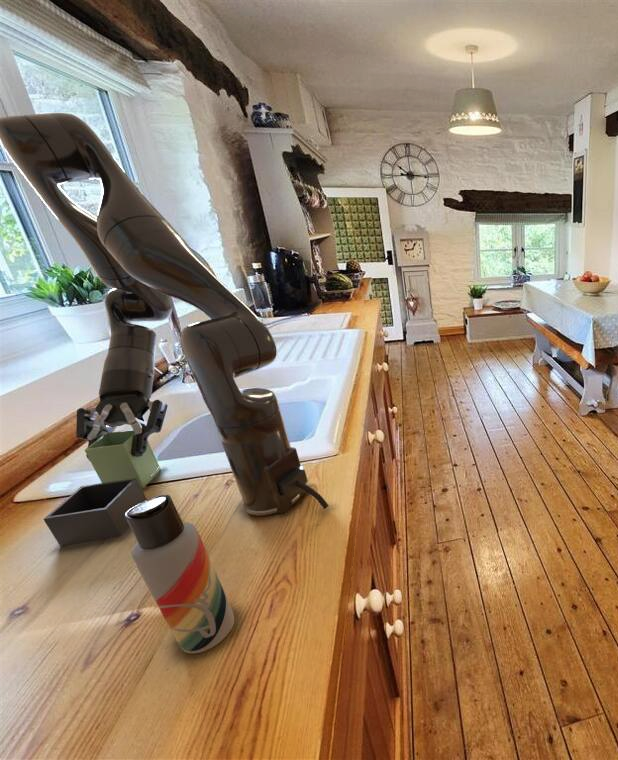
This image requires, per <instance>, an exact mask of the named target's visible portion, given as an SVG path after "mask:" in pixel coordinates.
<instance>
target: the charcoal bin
mask: <svg viewBox="0 0 618 760" xmlns="http://www.w3.org/2000/svg"><path fill="white" fill-rule="evenodd" d="M146 500H148V499H147V497H146V494H145V492H144V490H143V488H141V486H140V484H139V482H138V479H137V478H133V479H127V480H120V481H113V482H106V483H102V482H101V483H100V482H99V483H94V484H86V485H81V486H79V487H78V488H77V489H76V490H75V491H73V492H72V493H71V494H70V495H69V496H68V497H67V498H66V499H65V500H63V501H62V502H61V503H60V504H59V505H57V507H55V508H54V509H53V510H52V511H51V512H50V513H49V514H48V515H46V516H45V517H44V518H43V521H44V523H45V525H46V527H48V530H50V532H51V534H52V536H53V537H54V539H55V541H56V542H57V544H58V545H59V547H68V546H74V545H79V544H84V543H85V544H86V543H91V542H96V541H97V542H98V541H103V540H107V539H108V540H109V539H113V538H114V539H115V538H120V537H122V536H123V535H124V533H125V532H126V531H127V530H128V529H129V528H130V525H129V523H128V521H127V519H126V517H125V513H126V512H127V511H128V510H129V509H131V508H133V507H134V506H136V505H138V504H140V503H142V502H144V501H146Z"/></svg>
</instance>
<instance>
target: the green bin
mask: <svg viewBox="0 0 618 760" xmlns="http://www.w3.org/2000/svg"><path fill="white" fill-rule="evenodd" d="M133 435H136V434H135V432H134V430H133V429H127V430H120V431H113V432H111V433H108V434H104V435H103V436H102V437H100V438H99V439H98V440H97V441H95V442H94V443H93V444H91V445H90V446H89V447H88V446H87V447H86V448H85V449H84V452H85V454H87V456H88V458H89V459H88V458H87V459H88V461H89V460H90V461H89V462H90V463H91V465H92V467H93V469H94V471H95V474H96V475H97V476H98V478H99V480H100V482H101V483H106V482H113V481H120V480H127V479H133V478H137V479H138V482H139V484H140V486H141V488H142V489H144V488H145V487H146V486H147V485H148V484H149V483H150V482H151V481H152V480H153V479H154V477H156V475H157V474H158V473H159V472H160V471H162V470H161V466H160V465H159V462H158V460H157V458H156V456H155V454H154V452H153V449H152V447H151V444H150V443H149V440H148V439H147V447H146V451H145V453H143V455H142V456H140V457H136V456H133V455H131V448H132V441H133ZM87 456H86V457H87ZM158 467H159V468H158ZM157 468H158V470H157ZM156 470H157V471H156ZM155 471H156V472H155ZM154 472H155V473H154ZM153 473H154V474H153ZM152 474H153V475H152ZM151 475H152V476H151Z"/></svg>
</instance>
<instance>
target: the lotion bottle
mask: <svg viewBox="0 0 618 760" xmlns="http://www.w3.org/2000/svg"><path fill="white" fill-rule="evenodd" d="M125 517H126V519H127V521H128V523H129V525H130V526H129V528H130V529H131V532H132V534H133V536H134V538H135V540H136V543H135V545H134V546H133V548H132V549H131V557H132V559H133V561H134V564H135V566H136V568H137V569H138V572H139V573H140V575H141V577H142V579H143V581H144V583H145V585H146V586H147V588H148V590H149V592H150V594H151V596H152V598H153V600H154V602H155V603H156V605H157V608H158V609H159V611H160V613H161V615H162V616H163V618H164V620H165V622H166V624H167V626H168V628H169V630H170V631H171V633H172V635H173V637H174V638H175V639H174V640H176V642H177V644H178V646H179V647H180V648H181V650H182V651H183V652H184V653H187V654H199V653H202V652H206V651H208V650H211V649H212V648H214V647H215V646H217V645H218V644H220V643H221V642H222V641H223V640H224V639H225V638H226V637H227V636H228V635H229V634H230V632H231V631H232V628H233V626H234V624H235V615H234V612H233V609H232V607H231V604H230V602H229V600H228V596H227V595H226V593H225V590H224V588H223V586H222V583H221V581H220V579H219V576H218V575H217V572H216V570H215V567H214V565H213V562H212V561H211V558H210V556H209V554H208V551H207V549H206V546H205V544H204V542H203V539H202V537H201V535H200V533H199V531H198V529H197V527H196V525H195V524H194V523H192V522H189V521H186V522H182V520H181V518H182V517H181V516H180V514H179V512H178V510H177V507H176V505H175V503H174V501H173V499H172V497H171V495H169V494H159V495H156V496H153V497H150V498H149V499H147V500H146V501H144V502H142V503H140V504H138V505H136V506H134V507H133V508H131V509H129V510H128V511H127V512H126V513H125Z"/></svg>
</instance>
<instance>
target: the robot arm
mask: <svg viewBox="0 0 618 760" xmlns="http://www.w3.org/2000/svg"><path fill="white" fill-rule="evenodd" d="M0 143H1V145H2V148H4V151H5V152H6V153H7V155H8V156H9V158H10V159H11V160H12V162H13V163H14V165H15V166H16V167H17V169H18V170H19V172H20V173H21V174H22V175H23V176H24V178H25V179H26V181H27V182H28V183H29V185H30V186H31V187H32V188H33V189H34V191H35V193H36V194H37V195H38V196H39V197H40V199H41V201H43V203H44V204H45V205H46V206H47V208H48V209H49V211H51V213H52V214H53V215H54V216H55V218H56V219H57V220H58V221H59V223H60V224H61V225H62V226H63V228H65V230H66V231H67V232H68V234H70V236H71V237H72V238H73V240H74V241H75V242H76V244H77V245H78V246H79V248H80V249H81V251H82V252H83V254H84V255H85V257H86V259H87V260H88V262H89V264H90V265H91V267H92V268H93V270H94V272H95V274H96V275H97V277H98V278H99V279H100V281H101V283H103V284H104V285H105V286H107V287H110V288H112V289H110V290H109V291H108V292H107V293H106V295H105V297H104V306H105V310H106V313H107V318H108V323H109V330H110V338H109V343H108V349H107V354H106V357H105V359H104V361H103V366H102V373H101V379H100V384H99V390H98V397H99V401H98V403H97V404H96V406H95V407H92V408H87V409H86V408H84V407H80V408H78V409H77V410H76V429H75V430H76V431H75V432H76V433H75V435H76V436H75V437H76V438H77V439H79V440H84V441H87V442H88V443H87V448H88V447H89V446H90V445H91V444H93V443H94V442H95V441H97V440H98V439H99V438H100V437H102V436H103V435H104V434H108V433H111V432H115V430H116V429H117V427H121V426H125V425H127V426H128V425H130V426H131V428H132V430H134V432H135V434H136V435H133V441H132V448H131V455H133V456H136V457H140V456H142V455H143V453H145V451H146V447H147V440H148V438H149V437H150V436H151V435H152V434H154V433H156V434H159V433H161V431H162V428H163V424H164V421H165V417H166V413H167V410H168V407H169V406H168V404H167V403H166V402H164V401H161V400H160V399H154V400H152V401H150V399H151V398H152V393H153V385H154V384H153V383H154V377H155V370H156V369H155V367H156V363H155V358H156V357H155V356H156V349H157V341H158V338H157V337H158V336H157V334H156V332H155V331H154V330H153V329H152V328H150V327H147V326H144V325H140V324H136V323H132V322H163V321H165V320H168V318H170V316H171V315H172V313H173V303H172V300H171V298H174V299H176V300H179V301H181V302H183V303H185V304H188V305H190V306H192V307H194V308H195V309H197V310H198V311H200V312H202V313H203V315H205V316H207V317H208V318H209V319H207V320H202V321H199V322H194V323H191V324H188V325H186V326H185V327H183V329H182V330H181V333H180V347H181V351H182V353H183V356H184V358H185V359H184V360H185V361H186V363H187V366H188V368H189V370H190V372H191V374H192V376H193V378H194V381H195V384H196V385H197V388H198V390H199V392H200V395H201V398H202V400H203V402H204V405H205V406H206V408H207V410H208V411H209V413H210V415H211V417H212V420H213V422H214V425H215V428H216V431H217V433H218V436H219V439H220V442H221V444H222V447H223V450H224V454H225V455H226V459H227V461H228V464H229V467H230V469H231V472H232V475H233V478H234V481H235V483H236V486H237V488H238V491H239V495H240V496H241V498H242V502H243V507H244V509H245V511H246V513H247V514H249V515H250V516H255V517H265V516H271V515H275V514H285V513H286V512H287V511H289V510H290V509H291V508H292V507H293V506H294V505H295V504H296V503H298V501H299V500H300V499H301V498H302V497H303V496H305V495H306V494H307V493H308V494H309V495H311V496H312V497H313V498H314V499H315V500H316V501H317V502H318V503H319V505H320V506H321V507H322V509H324V510H326V509H327V508H328V507H329V503H328V502H327V501H326V500H325V498H323V496H322V495H321V494H320V493H319V492H317V490H316V489H313V488H312V487H310V486H309V485H307V483H308V481H309V480H308V478H307V473H306V470H305V469H304V466H303V465H301V462H300V458H299V454H298V450H297V448H296V447H293V446H291V443H290V440H289V436H288V433H287V429H286V426H285V422H284V418H283V415H282V412H281V407H280V404H279V401H278V397H277V395H276V393H275V392H274V391H273V390H271V389H268V388H263V387H245V388H239V386H238V384H237V381H236V380H235V379H237V378H239V377H242V376H244V375H248V374H250V373H253V372H256V371H258V370H261V369H263V368H265V367H268V366H269V365H271V364H272V363H274V361H275V360H276V359H277V355H278V349H277V344H276V342H275V339H274V336H273V335H272V333H271V332H270V330H269V328H267V325H266V324H265V323H264V322H263V321H262V320H261V319H260V318H259V316H257V315H256V314H255V312H254V311H252V309H250V307H248V306H247V305H246V304H245V303H244V302H243V301H242V300H240V298H239V297H237V296H236V294H234V293H233V292H232V291H231V290H230V289H229V288H228V287H227V286H226V285H225V284H223V282H222V281H220V279H218V277H217V276H216V275H215V274H214V273H213V272H212V271H211V269H210V268H208V266H207V265H206V264H205V263H204V262H203V261H202V260H201V258H200V257H199V256H198V255H197V254H196V253H195V252H194V250H193V249H192V248H191V247H190V245H189V244H188V243H187V242H186V241H185V239H184V238H183V237H182V236H181V235H180V234H179V232H178V231H177V230H176V229H175V228H174V227H173V225H172V224H171V223H170V222H169V221H168V220H167V219H166V218H165V217H164V216H163V215H162V214H161V212H160V211H159V210H157V208H156V207H155V206H154V205H153V204H152V202H151V201H149V199H147V198H146V196H145V195H144V194H143V193H142V191H141V190H139V188H138V187H137V186H136V185H135V183H134V182H133V180H132V179H131V178H130V177H129V176H128V174H127V172H125V170H124V169H123V168H122V166H121V165H120V164H119V162H118V161H117V160H116V159H115V157H114V156H113V155H112V153H111V152H110V150H109V149H108V147H106V145H105V144H104V142H103V141H102V140H101V139H100V138H99V136H98V135H97V133H96V132H95V131H94V130H93V129H92V128H91V127H90V126H89V124H88V123H87V122H85V121H84V120H83V119H81V118H80V117H78V116H77V115H75V114H71V113H67V112H66V113H65V112H49V113H35V114H34V113H33V114H24V115H20V114H19V115H10V116H9V115H8V116H2V117H0ZM94 179H96V180H99V181H100V185H101V186H100V187H101V196H100V201H99V206H98V210H97V216H95V215H93V214H91V213H90V212H89V211H87V210H85V209H84V208H82V207H81V206H80V205H78V204H77V203H75V202H74V200H72V199H71V198H70V197H69V196H68V195H67V194H66V192H65V191H64V190H63V189H62V188H61V186H60V185H62V184H67V183H74V182H80V181H85V180H94ZM170 297H171V298H170ZM148 411H149V415H148V418H147V420H146V418H145V416H144V415H145V414H147V412H148ZM98 415H99V416H98ZM97 416H98V417H97ZM105 424H107V425H105ZM85 454H86V453H85ZM85 457H86V458H87V459H88V461H89V462H90V460H89V458H88V456H87V454H86V455H85Z"/></svg>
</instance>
